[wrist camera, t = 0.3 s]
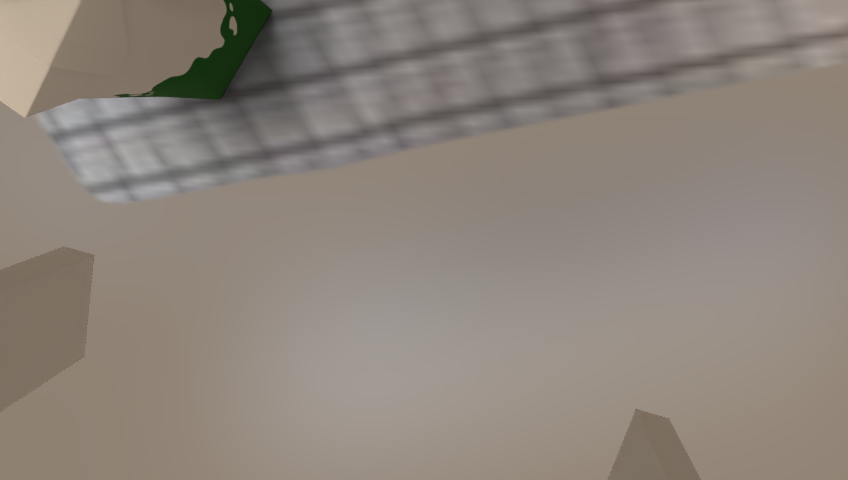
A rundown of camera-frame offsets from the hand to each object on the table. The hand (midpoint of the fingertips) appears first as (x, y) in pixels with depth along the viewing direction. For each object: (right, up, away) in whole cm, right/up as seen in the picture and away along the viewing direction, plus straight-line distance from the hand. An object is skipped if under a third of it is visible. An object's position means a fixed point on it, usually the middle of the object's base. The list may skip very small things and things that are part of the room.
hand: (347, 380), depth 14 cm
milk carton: (-13, +18, +26) cm, 34 cm away
